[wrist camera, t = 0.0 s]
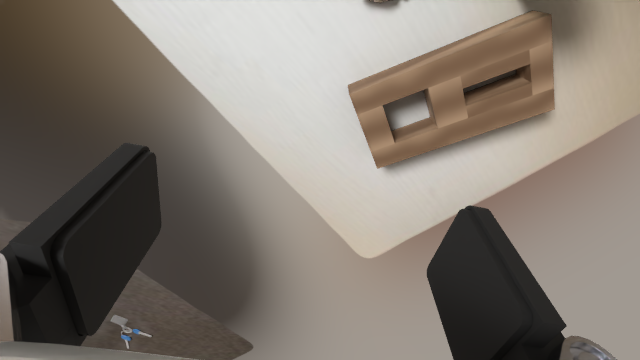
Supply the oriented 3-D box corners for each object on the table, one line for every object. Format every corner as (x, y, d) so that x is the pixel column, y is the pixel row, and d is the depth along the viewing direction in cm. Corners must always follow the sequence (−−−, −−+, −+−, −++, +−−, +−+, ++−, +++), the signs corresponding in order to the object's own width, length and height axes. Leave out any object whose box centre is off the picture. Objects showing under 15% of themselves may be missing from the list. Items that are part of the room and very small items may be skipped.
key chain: (107, 313, 76) (105, 316, 75) (142, 313, 76) (140, 316, 75) (128, 346, 84) (126, 349, 83) (159, 346, 83) (158, 349, 83)
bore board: (347, 85, 45) (349, 94, 42) (532, 10, 40) (551, 14, 36) (374, 155, 51) (377, 168, 48) (537, 98, 46) (554, 109, 42)
